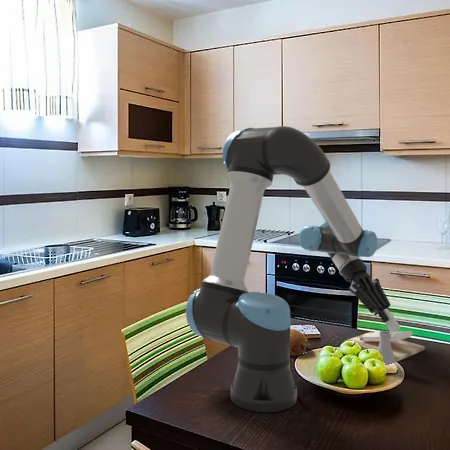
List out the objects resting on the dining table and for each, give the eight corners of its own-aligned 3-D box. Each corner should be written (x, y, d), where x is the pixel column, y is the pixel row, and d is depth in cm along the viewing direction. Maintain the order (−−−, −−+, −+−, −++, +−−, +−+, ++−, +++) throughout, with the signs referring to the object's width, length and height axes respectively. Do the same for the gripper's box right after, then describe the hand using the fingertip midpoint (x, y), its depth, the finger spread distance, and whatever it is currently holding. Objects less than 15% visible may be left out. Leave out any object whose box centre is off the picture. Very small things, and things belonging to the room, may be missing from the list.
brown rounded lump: (295, 355, 155) (286, 329, 157) (319, 349, 147) (310, 322, 149) (271, 363, 149) (263, 336, 150) (296, 357, 141) (287, 329, 143)
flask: (395, 365, 138) (396, 328, 137) (401, 375, 131) (403, 337, 129) (367, 364, 138) (368, 327, 137) (372, 374, 131) (373, 336, 130)
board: (397, 361, 140) (397, 357, 140) (343, 344, 154) (343, 340, 154) (424, 349, 149) (424, 346, 149) (371, 334, 163) (371, 331, 163)
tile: (360, 341, 153) (396, 342, 143) (359, 337, 153) (395, 337, 143) (376, 335, 158) (413, 335, 149) (375, 331, 158) (412, 331, 149)
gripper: (355, 269, 165) (400, 332, 154) (329, 274, 157) (374, 341, 146) (370, 255, 161) (417, 319, 150) (344, 259, 152) (392, 327, 142)
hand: (396, 330), depth 148 cm, fingers closed
